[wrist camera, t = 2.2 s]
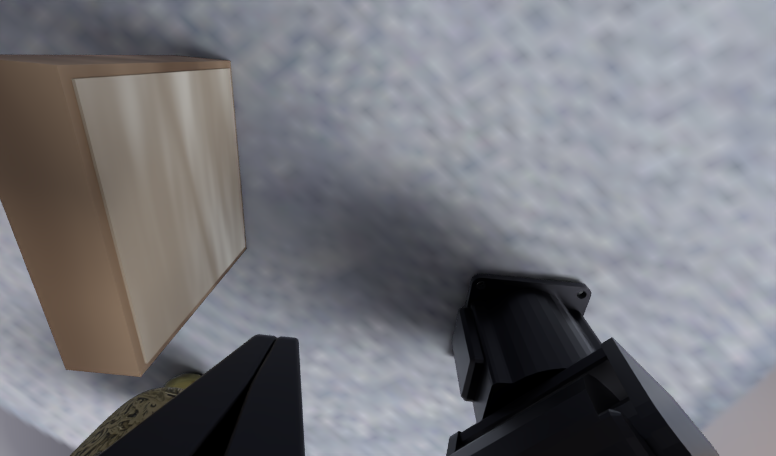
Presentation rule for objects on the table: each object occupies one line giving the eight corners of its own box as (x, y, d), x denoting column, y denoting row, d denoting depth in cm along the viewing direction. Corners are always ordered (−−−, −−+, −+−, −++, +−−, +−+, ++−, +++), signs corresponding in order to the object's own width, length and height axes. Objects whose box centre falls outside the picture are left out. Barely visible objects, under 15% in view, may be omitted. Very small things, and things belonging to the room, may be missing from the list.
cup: (118, 360, 24) (-3, 490, 17) (214, 334, 23) (127, 461, 16) (181, 433, 27) (101, 570, 20) (269, 413, 26) (217, 551, 19)
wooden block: (232, 60, 16) (59, 65, 8) (248, 248, 20) (143, 377, 12) (172, 55, 16) (-59, 54, 8) (200, 244, 20) (63, 369, 12)
